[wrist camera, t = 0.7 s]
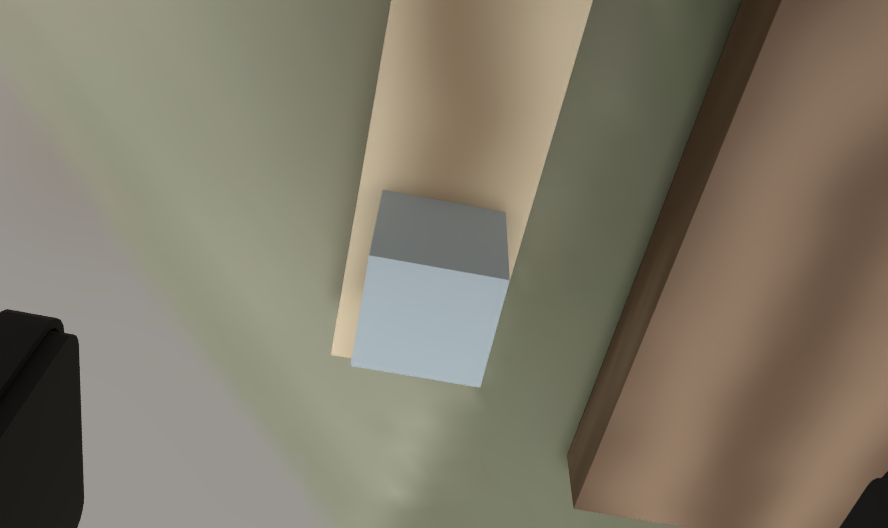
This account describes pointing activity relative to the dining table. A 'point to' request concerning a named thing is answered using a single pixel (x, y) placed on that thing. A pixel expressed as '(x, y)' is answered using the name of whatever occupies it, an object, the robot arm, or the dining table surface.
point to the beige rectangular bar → (462, 116)
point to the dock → (759, 293)
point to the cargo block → (432, 289)
